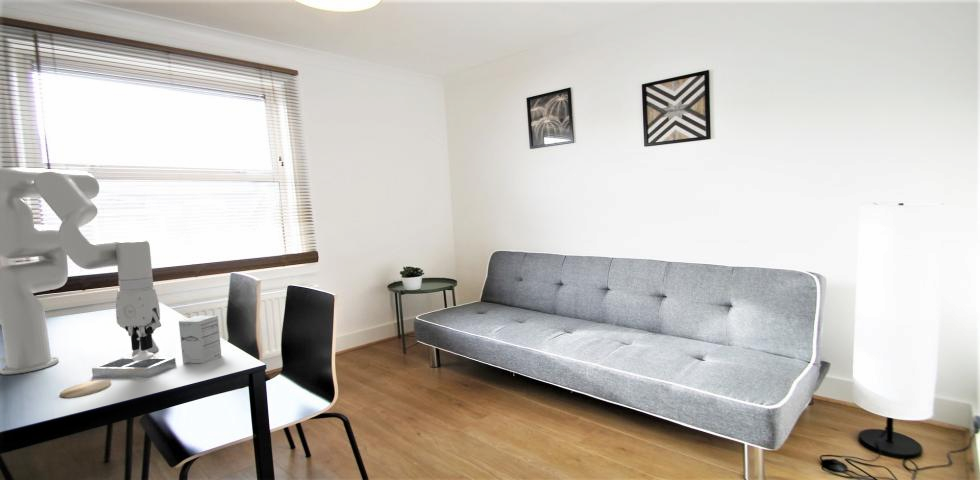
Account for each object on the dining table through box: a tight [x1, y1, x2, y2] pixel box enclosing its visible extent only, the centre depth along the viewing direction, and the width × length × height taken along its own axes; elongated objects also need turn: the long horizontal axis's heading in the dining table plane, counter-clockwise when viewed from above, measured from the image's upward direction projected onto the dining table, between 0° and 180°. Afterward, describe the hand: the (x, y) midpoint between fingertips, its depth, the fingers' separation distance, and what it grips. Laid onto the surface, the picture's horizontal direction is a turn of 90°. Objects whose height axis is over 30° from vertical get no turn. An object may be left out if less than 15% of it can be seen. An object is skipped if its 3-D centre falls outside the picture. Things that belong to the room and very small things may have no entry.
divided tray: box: [91, 356, 177, 378], centre depth 134 cm, size 18×9×2 cm, turn 80°
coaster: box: [59, 379, 112, 399], centre depth 121 cm, size 10×10×1 cm
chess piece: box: [132, 326, 155, 361], centre depth 133 cm, size 5×5×10 cm
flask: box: [131, 327, 160, 356], centre depth 151 cm, size 7×7×10 cm
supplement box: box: [178, 315, 222, 364], centre depth 141 cm, size 7×7×13 cm
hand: (142, 348), depth 133 cm, fingers closed on chess piece
